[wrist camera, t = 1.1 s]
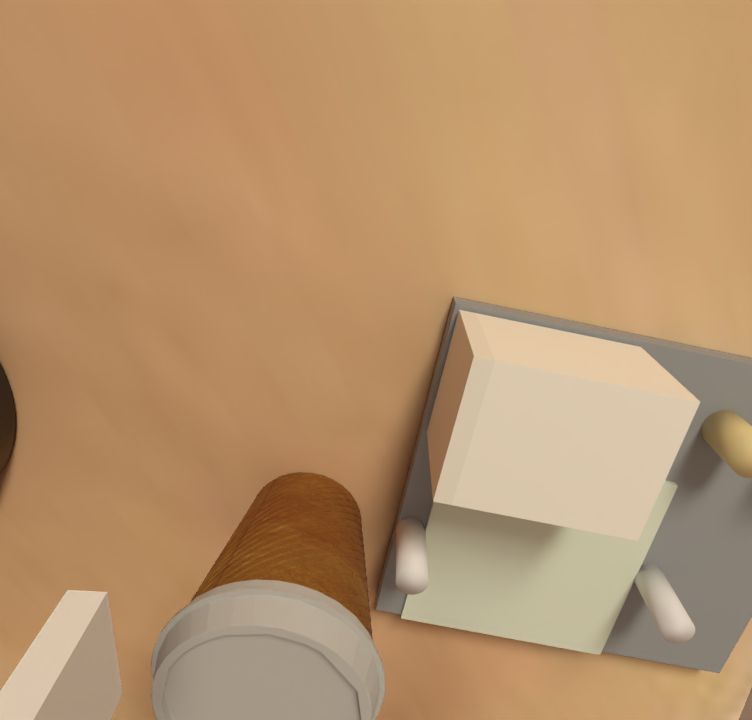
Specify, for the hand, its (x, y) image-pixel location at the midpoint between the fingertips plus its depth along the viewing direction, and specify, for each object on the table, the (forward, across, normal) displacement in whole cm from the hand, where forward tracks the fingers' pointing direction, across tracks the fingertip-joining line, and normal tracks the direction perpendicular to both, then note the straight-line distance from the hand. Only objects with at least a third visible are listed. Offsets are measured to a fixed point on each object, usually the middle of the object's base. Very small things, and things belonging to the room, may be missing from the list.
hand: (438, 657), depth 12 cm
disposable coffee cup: (+20, -5, -12) cm, 23 cm away
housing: (+18, +7, -2) cm, 19 cm away
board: (+19, +11, -9) cm, 24 cm away
